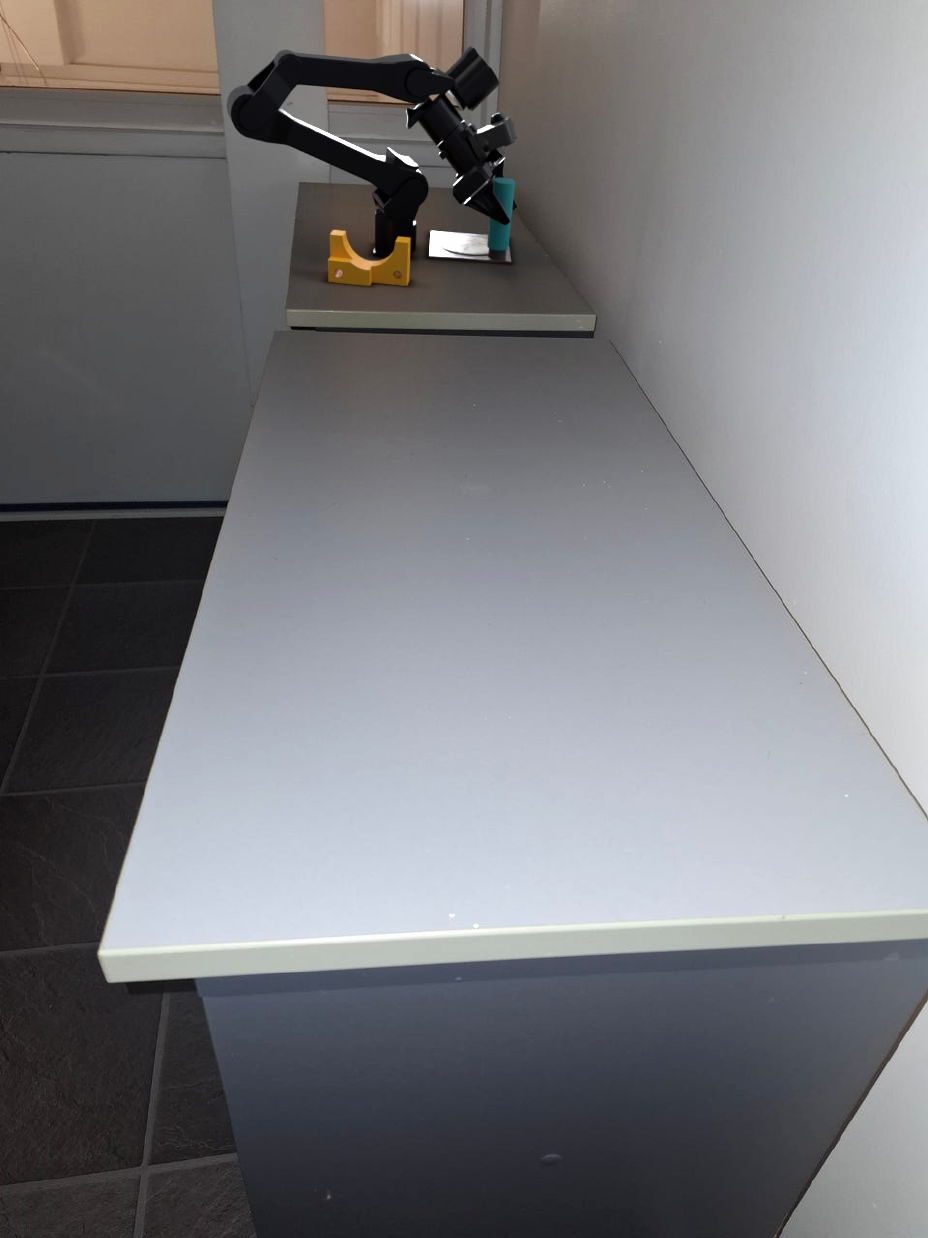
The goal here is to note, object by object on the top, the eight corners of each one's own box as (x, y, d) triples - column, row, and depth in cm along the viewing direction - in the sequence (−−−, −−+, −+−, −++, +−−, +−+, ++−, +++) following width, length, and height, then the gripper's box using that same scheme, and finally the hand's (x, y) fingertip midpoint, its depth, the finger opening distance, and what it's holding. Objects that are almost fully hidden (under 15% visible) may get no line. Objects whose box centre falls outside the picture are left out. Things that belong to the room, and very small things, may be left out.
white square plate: (428, 258, 144) (428, 254, 144) (430, 232, 155) (430, 229, 155) (511, 263, 145) (511, 260, 145) (507, 238, 156) (507, 235, 155)
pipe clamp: (328, 281, 132) (327, 237, 128) (334, 272, 136) (333, 229, 132) (405, 289, 132) (406, 246, 128) (409, 280, 135) (410, 237, 131)
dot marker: (495, 261, 144) (502, 184, 136) (482, 255, 146) (488, 178, 138) (511, 258, 146) (519, 181, 138) (498, 252, 148) (505, 176, 140)
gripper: (479, 106, 124) (544, 197, 130) (497, 86, 138) (555, 169, 145) (424, 159, 130) (489, 244, 136) (446, 135, 144) (504, 213, 150)
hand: (511, 215), depth 142 cm, fingers open, 9 cm apart
